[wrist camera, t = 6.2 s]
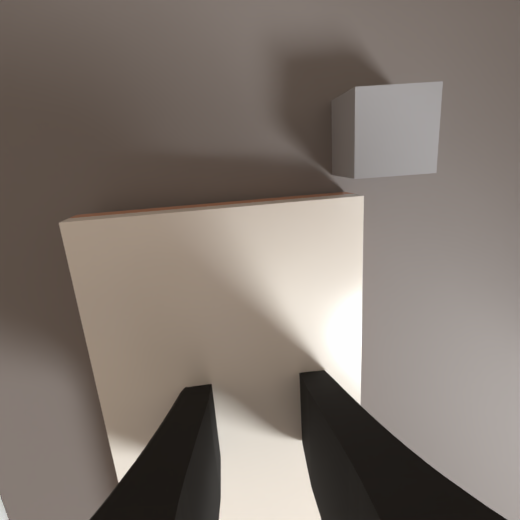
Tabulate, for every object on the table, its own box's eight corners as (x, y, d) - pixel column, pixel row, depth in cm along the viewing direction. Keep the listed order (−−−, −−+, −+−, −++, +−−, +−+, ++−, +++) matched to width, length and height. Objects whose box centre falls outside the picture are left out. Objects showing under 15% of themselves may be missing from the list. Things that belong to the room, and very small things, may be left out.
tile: (363, 195, 7) (58, 222, 7) (358, 546, 10) (144, 594, 9) (345, 192, 8) (76, 214, 8) (344, 513, 11) (149, 554, 10)
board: (825, -61, 8) (1069, -151, 6) (632, 546, 14) (717, 630, 12) (-137, -18, 7) (-324, -107, 5) (70, 619, 13) (31, 727, 11)
